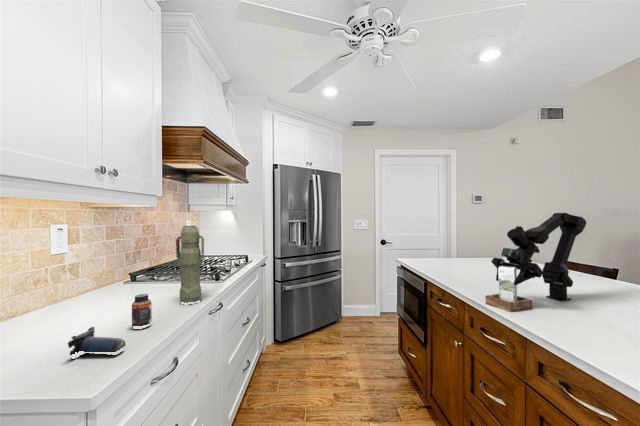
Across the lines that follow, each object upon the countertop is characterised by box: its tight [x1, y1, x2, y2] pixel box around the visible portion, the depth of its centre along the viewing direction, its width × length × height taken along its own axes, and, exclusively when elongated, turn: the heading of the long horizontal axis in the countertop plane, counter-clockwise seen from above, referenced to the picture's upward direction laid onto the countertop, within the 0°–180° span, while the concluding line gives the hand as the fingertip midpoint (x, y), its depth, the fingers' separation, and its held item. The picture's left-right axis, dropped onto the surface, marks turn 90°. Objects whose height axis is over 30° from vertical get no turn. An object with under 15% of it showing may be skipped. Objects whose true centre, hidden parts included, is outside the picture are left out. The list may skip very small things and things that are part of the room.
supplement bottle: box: [131, 293, 153, 327], centre depth 101 cm, size 6×6×11 cm
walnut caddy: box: [485, 293, 533, 313], centre depth 117 cm, size 11×11×4 cm
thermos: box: [175, 225, 205, 303], centre depth 130 cm, size 9×12×35 cm
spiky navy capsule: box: [67, 326, 126, 356], centre depth 81 cm, size 9×8×12 cm
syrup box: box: [498, 266, 518, 302], centre depth 117 cm, size 6×6×14 cm
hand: (505, 282), depth 116 cm, fingers closed on syrup box, 7 cm apart
